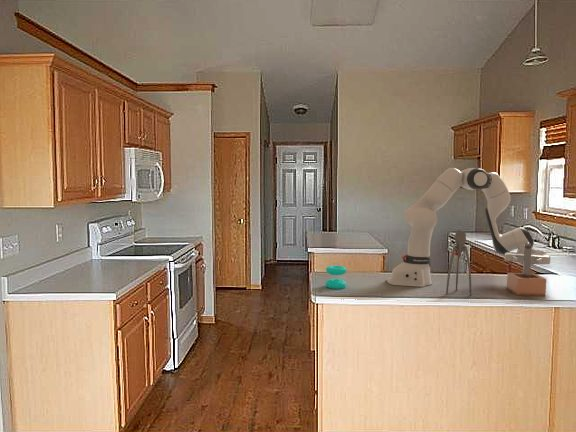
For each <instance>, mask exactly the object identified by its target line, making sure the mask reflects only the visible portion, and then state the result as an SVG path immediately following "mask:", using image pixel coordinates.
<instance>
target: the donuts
mask: <svg viewBox="0 0 576 432" xmlns="http://www.w3.org/2000/svg"><path fill="white" fill-rule="evenodd" d="M347 270H348V269H347V268H346V267H345V266H343V265H329V266H327V267H326V268H325V271H326V273H327V274H328V275H331V276H343V275H345V274H346V272H347ZM325 286H326V287H327V288H328V289H333V290H342V289H344V288H346V287H347V282H346V281H345V280H343V279H340V278H331V279H328V280H326V282H325Z"/></svg>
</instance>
